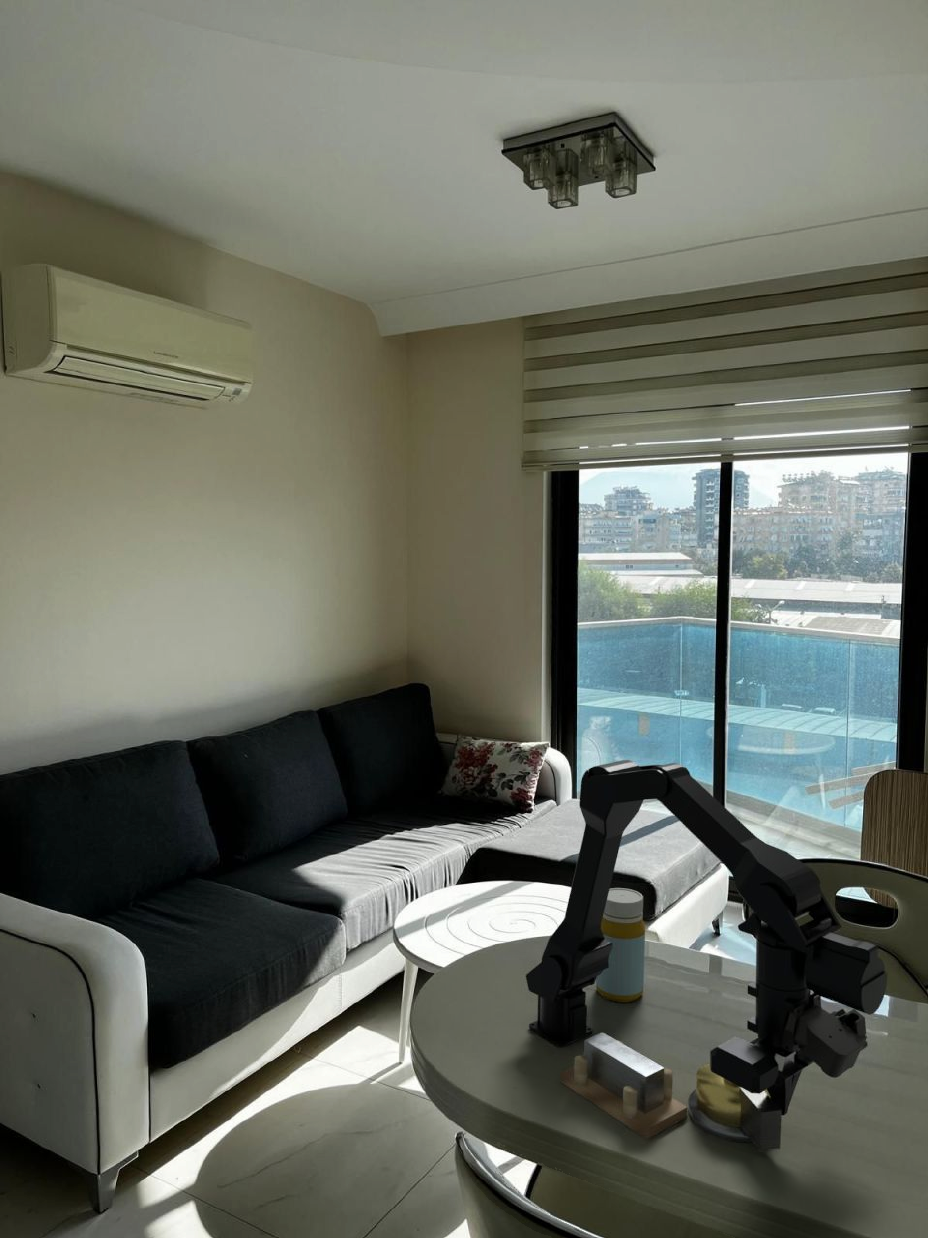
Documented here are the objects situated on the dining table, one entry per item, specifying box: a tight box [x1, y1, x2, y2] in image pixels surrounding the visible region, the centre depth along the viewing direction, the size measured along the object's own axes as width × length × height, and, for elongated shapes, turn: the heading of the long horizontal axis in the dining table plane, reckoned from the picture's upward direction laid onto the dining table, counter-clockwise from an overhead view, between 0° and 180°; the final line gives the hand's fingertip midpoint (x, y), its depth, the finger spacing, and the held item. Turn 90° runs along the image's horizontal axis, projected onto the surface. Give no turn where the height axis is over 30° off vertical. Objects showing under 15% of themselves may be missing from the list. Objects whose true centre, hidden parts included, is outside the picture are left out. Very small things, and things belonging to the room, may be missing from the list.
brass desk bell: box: [687, 1079, 753, 1143], centre depth 109 cm, size 10×10×6 cm
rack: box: [560, 1039, 688, 1140], centre depth 112 cm, size 14×8×4 cm, turn 38°
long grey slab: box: [583, 1032, 665, 1114], centre depth 112 cm, size 10×3×4 cm, turn 38°
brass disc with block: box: [695, 1062, 783, 1152], centre depth 107 cm, size 13×8×4 cm
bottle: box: [595, 887, 646, 1003], centre depth 139 cm, size 7×7×15 cm
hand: (781, 1113), depth 104 cm, fingers closed
